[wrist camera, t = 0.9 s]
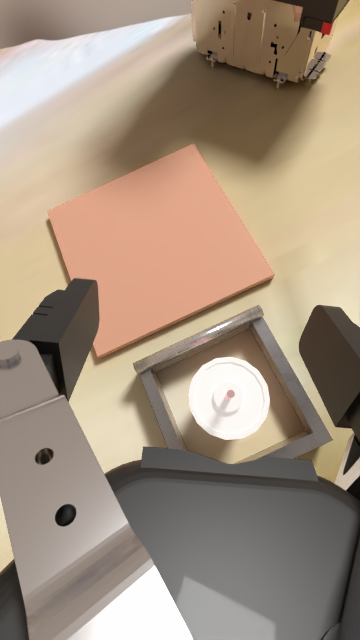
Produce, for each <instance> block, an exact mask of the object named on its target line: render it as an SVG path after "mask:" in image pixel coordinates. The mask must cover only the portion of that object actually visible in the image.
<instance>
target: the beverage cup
mask: <svg viewBox="0 0 360 640" xmlns="http://www.w3.org/2000/svg"><path fill="white" fill-rule="evenodd" d="M188 394H189V405H190V410H191V412H192V414H193V416H194V418H195V420H196V422H197V424H199V425H200V426H201V427H202V428H203V429H204V430H205V431H206V432H208V433H209V434H210V435H213V436H216V437H219V438H221V439H224V440H232V439H243V438H244V437H246V436H248V435H250V434H252V433H253V432H255V431H257V430H258V428H259V427H260V426H261V424H262V423H263V422H264V420H265V419H266V418H267V413H268V409H269V404H270V397H269V391H268V385H267V383H266V382H265V380H264V378H263V377H262V375H261V374H260V372H259V371H258V370H257V369H256V368H255V367H253V366H252V365H251V364H249V363H248V362H247V361H244V360H241V359H237V358H234V357H223V358H215V359H214V360H212V361H210V362H208V363H206V364H204V365H202V367H201V368H200V369H199V370H198V372H197V373H196V374H195V375H194V377H193V379H192V382H191V385H190V389H189V392H188Z"/></svg>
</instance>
